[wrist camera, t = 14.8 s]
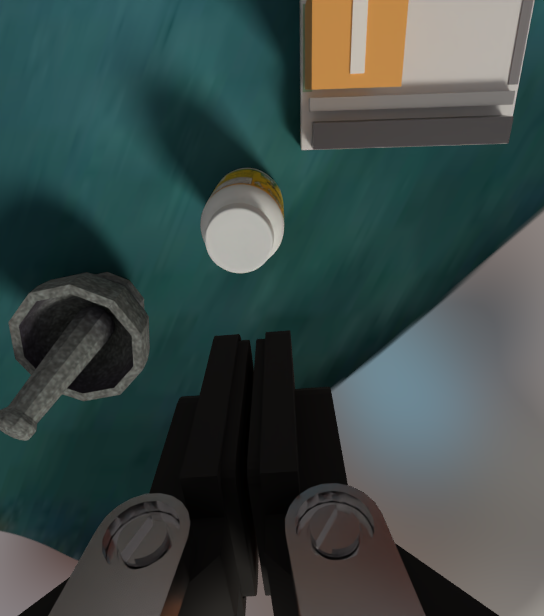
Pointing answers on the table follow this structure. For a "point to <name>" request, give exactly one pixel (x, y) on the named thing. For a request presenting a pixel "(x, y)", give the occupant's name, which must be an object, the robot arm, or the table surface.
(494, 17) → the breaker panel
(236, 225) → the supplement bottle
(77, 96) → the table surface
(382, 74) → the orange rectangular block
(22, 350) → the mortar and pestle
